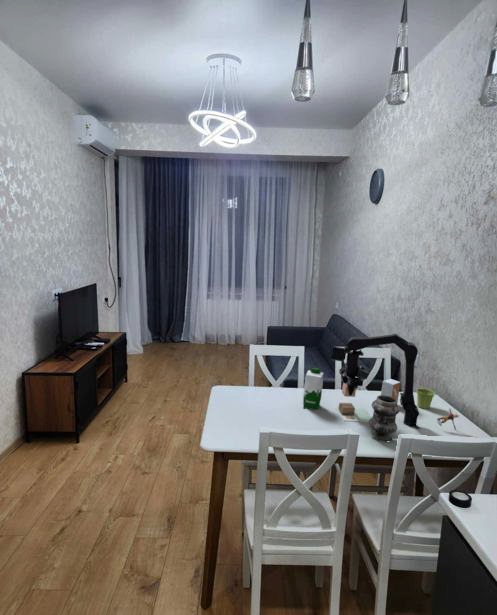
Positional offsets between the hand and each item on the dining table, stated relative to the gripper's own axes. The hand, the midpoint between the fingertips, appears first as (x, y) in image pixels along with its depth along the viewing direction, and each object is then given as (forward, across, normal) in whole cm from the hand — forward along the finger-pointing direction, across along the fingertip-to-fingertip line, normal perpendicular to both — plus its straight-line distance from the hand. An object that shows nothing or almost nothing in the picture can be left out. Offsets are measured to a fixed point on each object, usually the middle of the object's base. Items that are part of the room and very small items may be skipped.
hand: (348, 393), depth 205 cm
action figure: (+11, -13, -44) cm, 47 cm away
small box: (+11, +15, -28) cm, 34 cm away
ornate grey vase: (+11, -23, -9) cm, 27 cm away
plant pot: (+11, +14, -47) cm, 50 cm away
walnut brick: (+10, 0, 0) cm, 10 cm away
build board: (+11, -2, -4) cm, 12 cm away
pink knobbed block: (+1, 0, 0) cm, 1 cm away
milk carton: (+11, +7, +16) cm, 21 cm away
